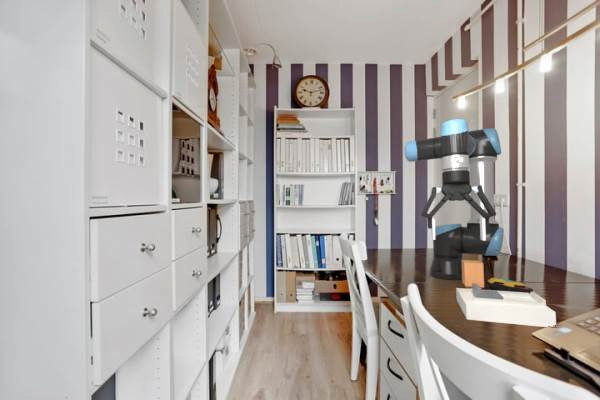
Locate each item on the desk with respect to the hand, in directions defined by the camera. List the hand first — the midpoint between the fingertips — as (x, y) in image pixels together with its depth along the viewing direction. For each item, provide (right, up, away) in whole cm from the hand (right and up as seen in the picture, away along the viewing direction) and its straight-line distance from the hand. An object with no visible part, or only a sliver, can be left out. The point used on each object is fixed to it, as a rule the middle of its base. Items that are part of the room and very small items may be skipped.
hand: (457, 239), depth 90 cm
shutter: (+7, -17, -3) cm, 18 cm away
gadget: (+24, -21, +11) cm, 34 cm away
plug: (+12, -21, +12) cm, 27 cm away
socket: (+10, -21, -4) cm, 23 cm away
